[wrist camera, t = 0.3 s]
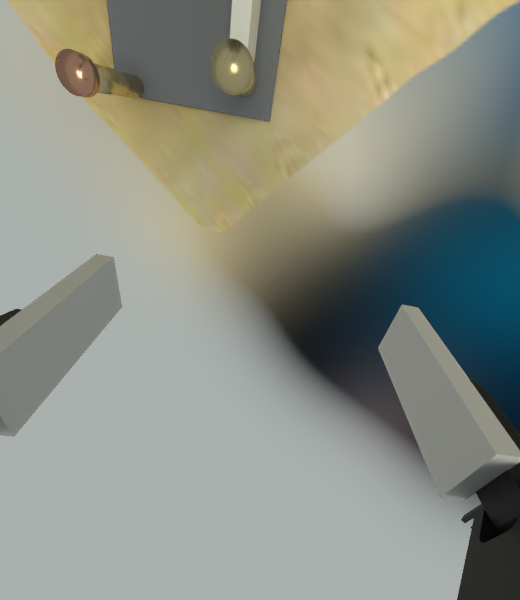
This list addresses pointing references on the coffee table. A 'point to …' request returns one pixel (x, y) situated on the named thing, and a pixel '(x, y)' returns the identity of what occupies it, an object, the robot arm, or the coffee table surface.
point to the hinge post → (233, 68)
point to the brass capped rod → (94, 77)
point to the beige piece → (245, 23)
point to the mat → (192, 51)
